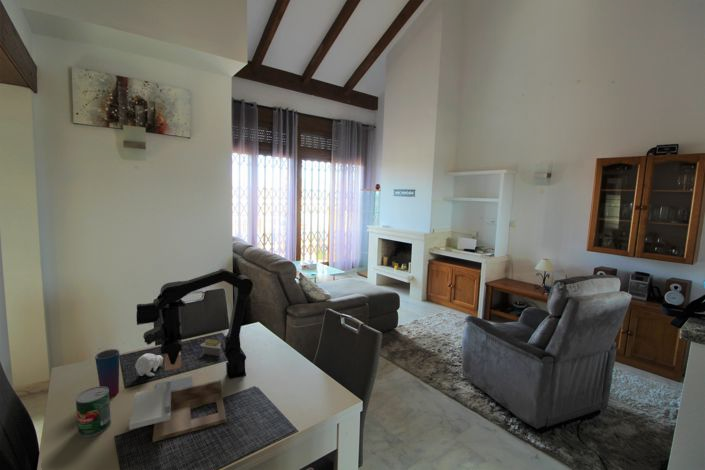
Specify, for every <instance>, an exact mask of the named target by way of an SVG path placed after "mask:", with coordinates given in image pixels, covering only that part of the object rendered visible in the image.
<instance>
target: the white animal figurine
mask: <svg viewBox="0 0 705 470" xmlns="http://www.w3.org/2000/svg"><path fill="white" fill-rule="evenodd" d="M163 361H164V356H162V354H161V355H159V354H158V355H156V354H154V353H144V354H143V355H141V356H140V357H139V358H137V360H136V363H135V364H134V366H135V370H136V371H137V374H138V375H139V376H141V377H142V376H144V375H146V376H147V377H155V376H156V374H155V373H154V372H156V371H157V369H158V367H162V365H163V364H164V363H163ZM152 369H153V372H151V371H152Z"/></svg>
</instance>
